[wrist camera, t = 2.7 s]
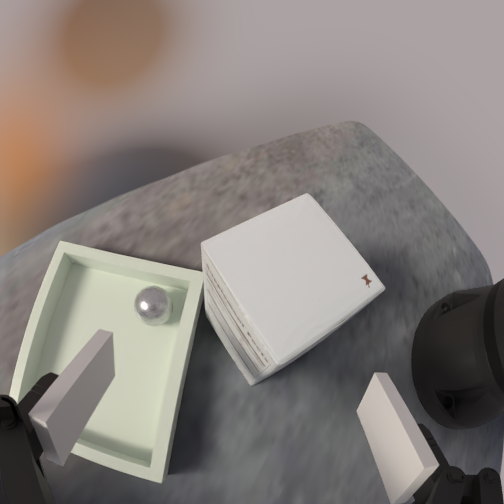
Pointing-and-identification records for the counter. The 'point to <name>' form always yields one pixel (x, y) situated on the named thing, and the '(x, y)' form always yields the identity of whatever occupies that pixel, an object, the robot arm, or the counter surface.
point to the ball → (153, 306)
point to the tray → (116, 351)
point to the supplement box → (282, 285)
